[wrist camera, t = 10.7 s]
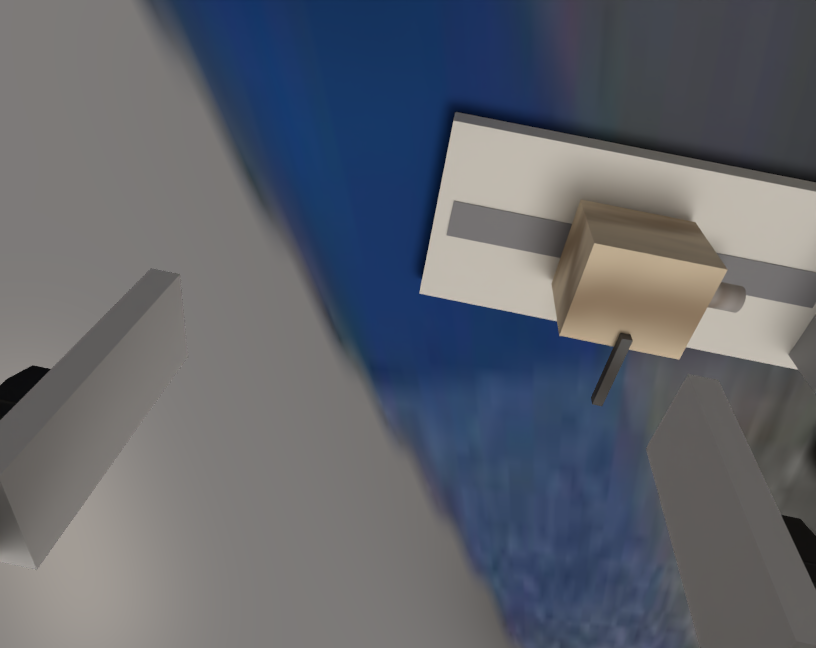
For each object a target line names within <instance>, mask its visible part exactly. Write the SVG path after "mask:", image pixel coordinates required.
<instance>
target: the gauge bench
mask: <svg viewBox="0 0 816 648" xmlns="http://www.w3.org/2000/svg"><path fill="white" fill-rule="evenodd" d="M580 200H586V201H591V202H596V203H601V204H607V205H612V206H617V207H622V208H627V209H632V210H637V211H642V212H647V213H652V214H657V215H662V216H667V217H672V218H677V219H682V220H687V221H692V222H696V224H697V225H698V227H699V228H700V230H701V231H702V233H703V234H704V236H705V237H706V239H707V240H708V241H709V243H710V244H711V246H712V247H713V249H714V250H715V252H716V253H717V255H718V256H719V258H720V259H721V261H722V262H723V263H724V265H725V266H726V268H727V269H728V270H727V272H726V274H725V276H724V278H723V279H722V281H721V282H724V283H729V284H734V285H739V286H743V287H744V288H745V290H746V299H745V302H744V305H743V307H742V308H741V309H740V311H738V312H736V313H734V312H729V311H724V310H719V309H714V308H709V307H707V309H706V311H705V313H704V315H703V316H702V318H701V320H700V322H699V324H698V326H697V328H696V329H695V331H694V333H693V335H692V337H691V339H690V341H689V342H688V344H687V346H686V347H688V348H693V349H698V350H703V351H708V352H713V353H718V354H723V355H728V356H733V357H738V358H743V359H748V360H753V361H758V362H763V363H768V364H773V365H777V366H782V367H787V368H792V369H797V370H799V371H800V373H801V374H802V376H803V377H804V378H805V380H806V381H807V383H808V384H809V386H810V387H811V389H812V390H813V392H814V393H815V394H816V182H811V181H806V180H801V179H796V178H791V177H785V176H780V175H775V174H770V173H765V172H760V171H755V170H750V169H745V168H740V167H734V166H729V165H724V164H719V163H714V162H709V161H704V160H699V159H694V158H689V157H683V156H678V155H673V154H668V153H663V152H658V151H653V150H648V149H643V148H638V147H632V146H627V145H622V144H617V143H612V142H607V141H602V140H597V139H592V138H587V137H581V136H576V135H571V134H566V133H561V132H556V131H551V130H546V129H541V128H536V127H530V126H525V125H520V124H515V123H510V122H505V121H500V120H495V119H490V118H485V117H479V116H474V115H469V114H464V113H459V112H455V116H454V120H453V125H452V130H451V136H450V141H449V146H448V151H447V156H446V161H445V166H444V171H443V176H442V181H441V186H440V191H439V196H438V201H437V206H436V212H435V217H434V222H433V227H432V232H431V237H430V242H429V247H428V252H427V257H426V262H425V267H424V272H423V277H422V282H421V288H420V294H425V295H430V296H435V297H440V298H445V299H449V300H454V301H459V302H464V303H469V304H474V305H479V306H484V307H489V308H494V309H499V310H504V311H509V312H514V313H519V314H524V315H529V316H534V317H539V318H544V319H549V320H554V321H557V317H556V310H555V304H554V297H553V291H552V284H551V283H552V281H553V278H554V275H555V272H556V269H557V266H558V263H559V260H560V257H561V255H562V252H563V249H564V246H565V243H566V240H567V237H568V234H569V232H570V229H571V226H572V223H573V220H574V217H575V214H576V211H577V208H578V206H579V203H580Z"/></svg>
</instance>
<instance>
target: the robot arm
mask: <svg viewBox="0 0 816 648" xmlns="http://www.w3.org/2000/svg"><path fill="white" fill-rule="evenodd" d="M187 358H188V351H187V341H186V331H185V320H184V310H183V299H182V289H181V279H180V274H176V273H172V272H166V271H161V270H156V269H150V270H149V271H148V272H147V273H146V274H145V275H144V276H143V277H142V278H141V279H140V280H139V281H138V282H137V283H136V284H135V285H134V286H133V287H132V288H131V289H130V290H129V291H128V292H127V293H126V294H125V295H124V296H123V297H122V298H121V299H120V300H119V301H118V302H117V303H116V304H115V305H114V306H113V307H112V308H111V309H110V310H109V311H108V312H107V313H106V314H105V315H104V316H103V317H102V318H101V319H100V320H99V321H98V322H97V323H96V324H95V325H94V327H92V328H91V329H90V330H89V331H88V332H87V333H86V334H85V336H84V337H82V338H81V340H79V342H77V344H76V345H75V346H74V347H73V348H72V349H71V350H70V351H69V352H68V353H67V354H66V355H65V356H64V357H63V358H62V359H61V360H60V361H59V362H58V363H57V364H56V365H55V366H54V367H53V368H52V369H48V368H43V367H38V366H31V367H29V368H27V369H25V370H23V371H21V372H19V373H17V374H16V375H14V376H12V377H10V378H8V379H7V380H5V382H3V383H2V384H1V385H0V562H2V563H7V564H12V565H17V566H21V567H26V568H31V569H38V567H39V566H40V564H41V563H42V562H43V560H44V559H45V557H46V556H47V555H48V553H49V552H50V550H51V549H52V548H53V546H54V545H55V543H56V542H57V541H58V539H59V538H60V536H61V535H62V534H63V532H64V531H65V529H66V528H67V527H68V525H69V524H70V522H71V521H72V519H73V518H74V517H75V515H76V514H77V512H78V511H79V510H80V508H81V507H82V505H83V504H84V503H85V501H86V500H87V498H88V497H89V495H90V494H91V493H92V491H93V490H94V489H95V487H96V485H97V484H98V483H99V481H100V480H101V479H102V477H103V476H104V474H105V473H106V472H107V470H108V469H109V467H110V466H111V464H112V463H113V462H114V460H115V459H116V458H117V456H118V455H119V453H120V452H121V450H122V449H123V448H124V446H125V445H126V443H127V442H128V441H129V439H130V438H131V436H132V435H133V434H134V432H135V431H136V429H137V428H138V426H139V425H140V423H141V422H142V421H143V419H144V418H145V417H146V415H147V414H148V412H149V411H150V410H151V408H152V407H153V405H154V404H155V403H156V401H157V400H158V398H159V397H160V396H161V394H162V393H163V391H164V390H165V388H166V387H167V386H168V384H169V383H170V381H171V380H172V379H173V377H174V376H175V374H176V373H177V372H178V370H179V369H180V367H181V366H182V365H183V363H184V362H185V360H186V359H187ZM646 450H647V454H648V457H649V461H650V465H651V468H652V472H653V476H654V479H655V483H656V487H657V491H658V494H659V498H660V502H661V505H662V509H663V513H664V516H665V520H666V524H667V528H668V531H669V535H670V539H671V542H672V546H673V550H674V553H675V557H676V561H677V565H678V568H679V572H680V576H681V579H682V583H683V587H684V590H685V594H686V598H687V602H688V605H689V609H690V613H691V616H692V620H693V624H694V627H695V631H696V635H697V639H698V642H699V646H700V648H816V536H815V535H814V534H813V533H812V532H811V530H810V529H809V528H808V527H807V526H806V525H805V524H804V522H803V521H802V520H801V519H798V518H793V517H789V516H784V515H781V514H780V512H779V510H778V507H777V505H776V503H775V501H774V499H773V497H772V495H771V492H770V490H769V488H768V486H767V484H766V482H765V479H764V477H763V475H762V473H761V471H760V469H759V467H758V464H757V462H756V460H755V458H754V456H753V454H752V452H751V449H750V447H749V445H748V443H747V441H746V439H745V436H744V434H743V432H742V430H741V428H740V426H739V424H738V421H737V419H736V417H735V415H734V413H733V411H732V409H731V406H730V404H729V402H728V400H727V398H726V396H725V393H724V391H723V389H722V387H721V385H720V383H719V381H718V380H715V379H710V378H705V377H700V376H694V375H689V374H688V375H687V377H686V379H685V381H684V382H683V384H682V386H681V388H680V389H679V391H678V393H677V395H676V396H675V398H674V400H673V402H672V403H671V405H670V407H669V409H668V411H667V412H666V414H665V416H664V418H663V419H662V421H661V423H660V425H659V426H658V428H657V430H656V432H655V433H654V435H653V437H652V439H651V441H650V442H649V444H648V446H647V448H646Z"/></svg>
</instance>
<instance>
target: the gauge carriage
mask: <svg viewBox="0 0 816 648" xmlns="http://www.w3.org/2000/svg"><path fill="white" fill-rule="evenodd" d="M727 270H728V269H727V268H726V266H725V265H724V263H723V262H722V261H721V259H720V258H719V256H718V255H717V253H716V252H715V250H714V249H713V247H712V246H711V244H710V243H709V241H708V240H707V239H706V237H705V236H704V234H703V233H702V231H701V230H700V228H699V227H698V225H697V224H696V222H692V221H687V220H682V219H677V218H672V217H667V216H662V215H657V214H652V213H647V212H642V211H637V210H632V209H627V208H622V207H617V206H612V205H607V204H601V203H596V202H591V201H586V200H580V203H579V206H578V208H577V211H576V214H575V217H574V220H573V223H572V226H571V229H570V232H569V234H568V237H567V240H566V243H565V246H564V249H563V252H562V255H561V257H560V260H559V263H558V266H557V269H556V272H555V275H554V278H553V281H552V283H551V284H552V291H553V297H554V304H555V310H556V317H557V323H558V329H559V335H560V336H565V337H570V338H575V339H580V340H585V341H590V342H595V343H599V344H604V345H609V346H614V348H613V350H612V352H611V354H610V357H609V359H608V361H607V363H606V365H605V368H604V370H603V372H602V374H601V377H600V379H599V381H598V383H597V385H596V388H595V390H594V392H593V394H592V397H591V400H592V404H594V405H599V406H602V405H603V403H604V401H605V399H606V397H607V395H608V392H609V390H610V388H611V386H612V384H613V382H614V380H615V378H616V375H617V373H618V371H619V369H620V367H621V365H622V363H623V361H624V358H625V356H626V354H627V352H628V350H634V351H639V352H644V353H649V354H654V355H659V356H664V357H669V358H674V359H680V357H681V355H682V353H683V352H684V350H685V348H686V346H687V344H688V342H689V341H690V339H691V337H692V335H693V333H694V331H695V329H696V328H697V326H698V324H699V322H700V320H701V318H702V316H703V315H704V313H705V311H706V309H707V307H709V308H714V309H719V310H724V311H729V312H734V313H736V312H738V311H740V309H741V308H742V307H743V305H744V302H745V299H746V290H745V288H744V287H743V286H739V285H734V284H729V283H724V282H721V281H722V279H723V278H724V276H725V274H726V272H727Z"/></svg>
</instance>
